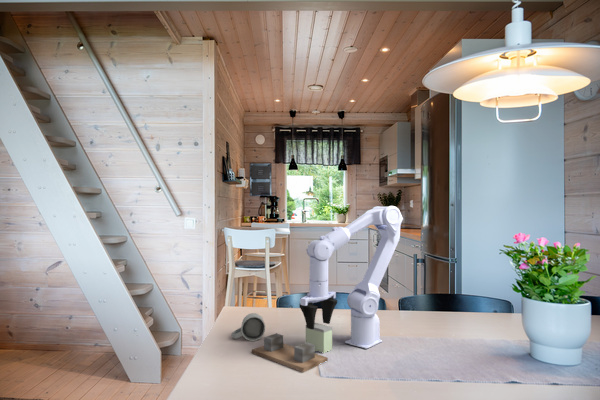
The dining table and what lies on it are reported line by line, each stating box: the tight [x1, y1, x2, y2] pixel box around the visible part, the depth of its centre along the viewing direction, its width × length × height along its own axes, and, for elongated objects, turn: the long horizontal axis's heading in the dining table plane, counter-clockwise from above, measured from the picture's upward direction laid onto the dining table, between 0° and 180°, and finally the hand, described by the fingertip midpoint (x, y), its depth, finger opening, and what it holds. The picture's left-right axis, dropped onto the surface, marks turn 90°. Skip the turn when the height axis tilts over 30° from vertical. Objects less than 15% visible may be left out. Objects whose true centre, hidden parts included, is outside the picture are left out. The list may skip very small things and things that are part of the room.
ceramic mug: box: [231, 312, 266, 342], centre depth 126 cm, size 11×8×8 cm
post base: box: [251, 332, 328, 373], centre depth 109 cm, size 10×20×4 cm, turn 48°
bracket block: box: [305, 322, 333, 354], centre depth 116 cm, size 4×7×7 cm, turn 48°
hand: (318, 325), depth 116 cm, fingers open, 7 cm apart
